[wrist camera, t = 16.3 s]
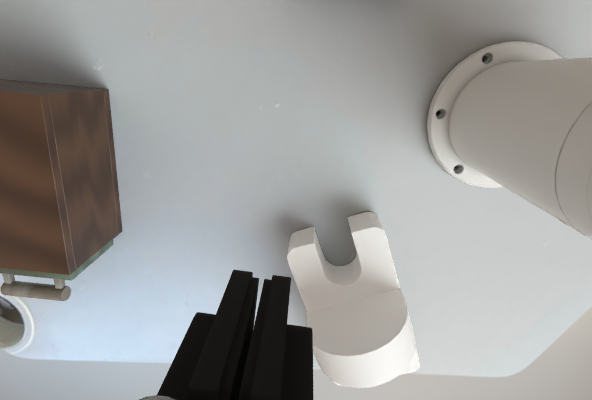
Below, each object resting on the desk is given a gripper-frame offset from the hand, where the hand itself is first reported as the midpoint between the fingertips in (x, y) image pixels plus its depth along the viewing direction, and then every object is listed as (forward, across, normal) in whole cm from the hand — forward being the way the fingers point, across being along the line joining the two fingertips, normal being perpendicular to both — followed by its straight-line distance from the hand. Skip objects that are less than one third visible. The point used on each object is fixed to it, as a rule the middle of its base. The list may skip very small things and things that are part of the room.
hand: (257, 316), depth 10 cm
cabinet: (+25, +24, +5) cm, 35 cm away
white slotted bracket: (+25, -9, +15) cm, 30 cm away
